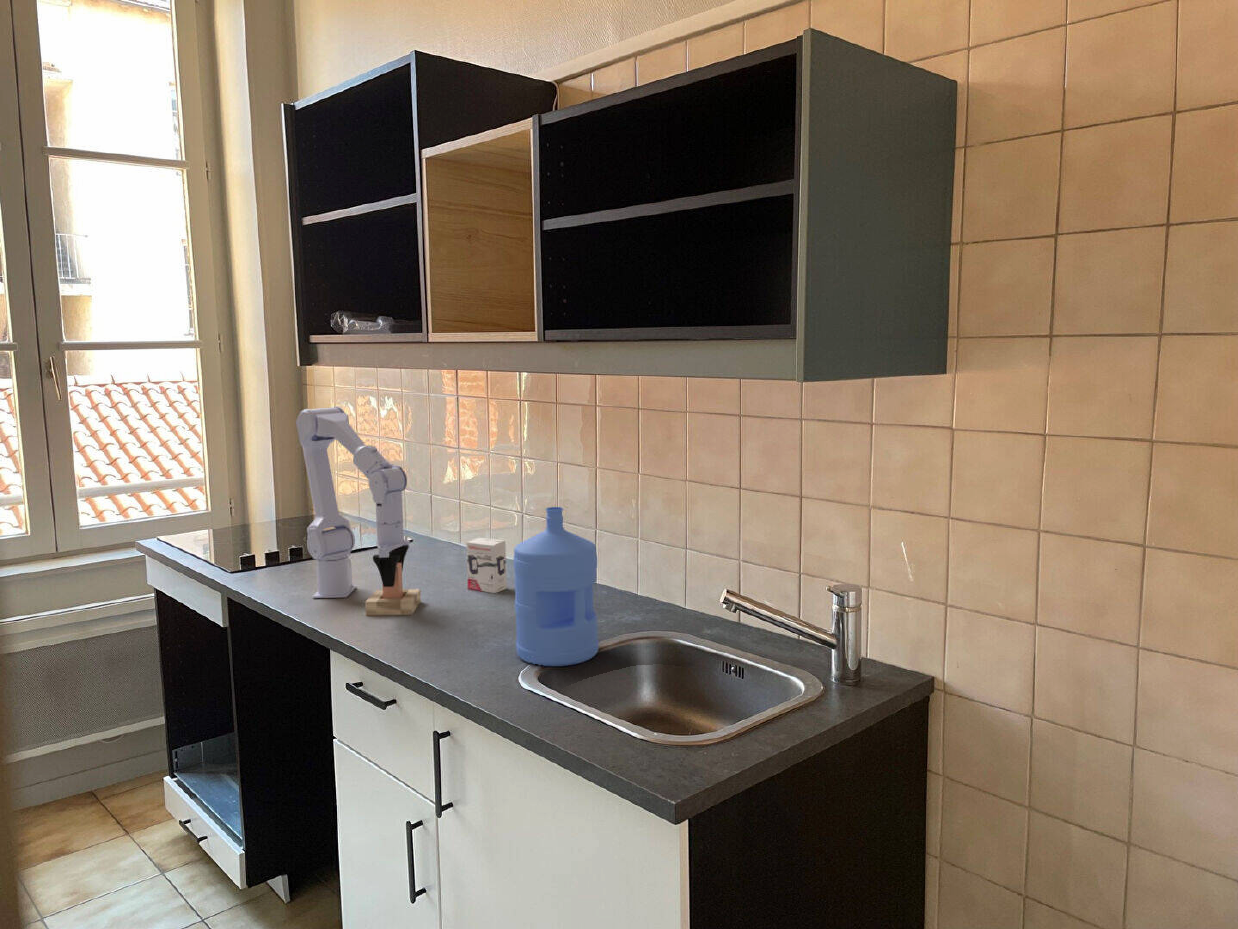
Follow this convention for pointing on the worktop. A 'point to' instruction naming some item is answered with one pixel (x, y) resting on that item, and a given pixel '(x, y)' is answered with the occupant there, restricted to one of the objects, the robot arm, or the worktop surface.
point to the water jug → (555, 596)
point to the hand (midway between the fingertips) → (392, 581)
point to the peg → (395, 586)
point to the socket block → (393, 603)
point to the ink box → (486, 565)
